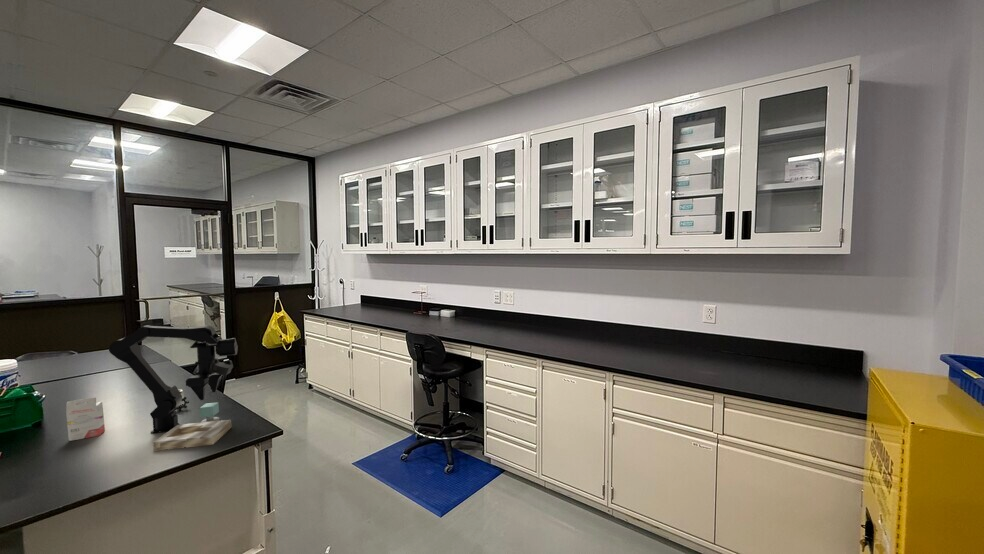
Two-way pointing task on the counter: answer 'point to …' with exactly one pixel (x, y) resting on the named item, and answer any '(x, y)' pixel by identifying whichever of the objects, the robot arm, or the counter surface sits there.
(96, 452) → the counter surface
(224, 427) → the keyhole board
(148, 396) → the counter surface
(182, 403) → the valve
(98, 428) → the ink cartridge box
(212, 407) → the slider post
